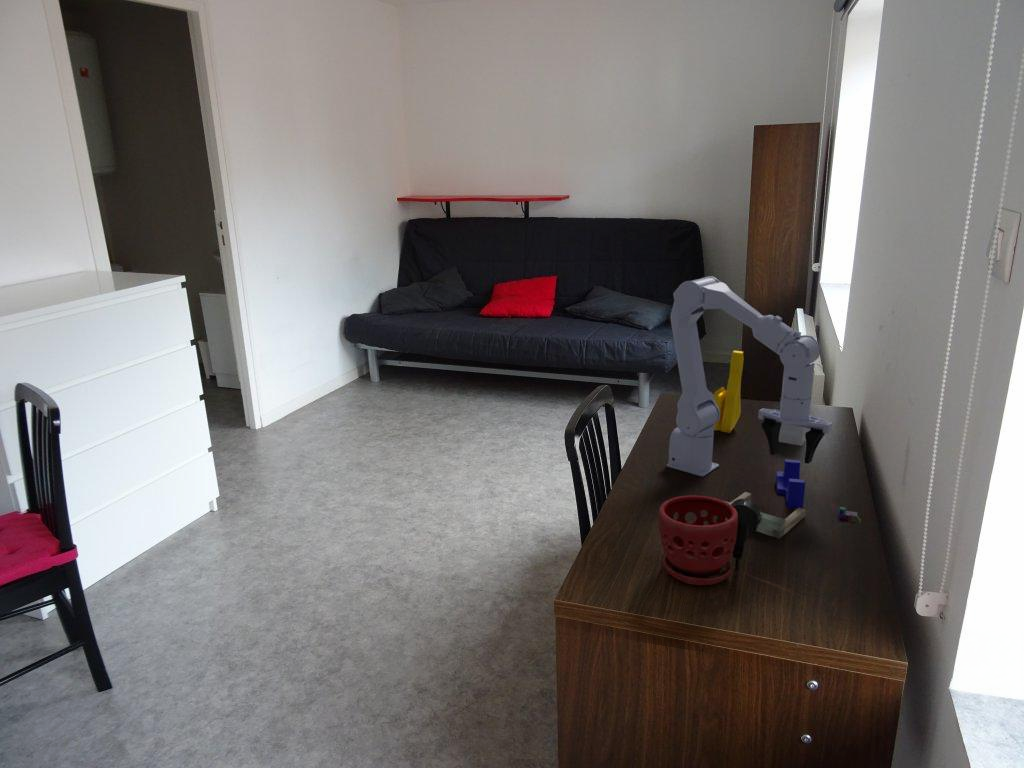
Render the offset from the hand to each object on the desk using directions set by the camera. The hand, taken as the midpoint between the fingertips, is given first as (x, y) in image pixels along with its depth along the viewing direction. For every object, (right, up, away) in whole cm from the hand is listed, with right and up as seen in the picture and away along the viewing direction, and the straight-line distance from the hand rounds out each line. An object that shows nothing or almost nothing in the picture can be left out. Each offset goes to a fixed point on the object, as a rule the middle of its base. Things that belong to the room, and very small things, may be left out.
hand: (790, 457), depth 150 cm
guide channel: (-8, -11, -6) cm, 15 cm away
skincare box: (+12, 0, +32) cm, 34 cm away
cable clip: (+1, -9, +3) cm, 9 cm away
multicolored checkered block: (+9, -12, -7) cm, 16 cm away
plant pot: (-26, -18, -24) cm, 40 cm away
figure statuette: (-2, +3, +41) cm, 41 cm away
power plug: (-18, -17, -23) cm, 33 cm away
